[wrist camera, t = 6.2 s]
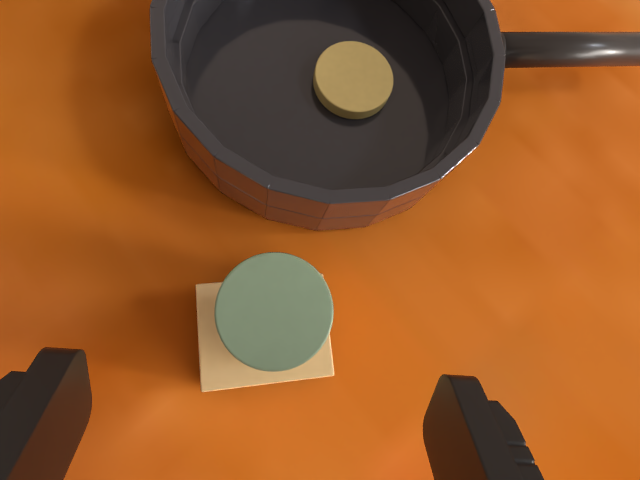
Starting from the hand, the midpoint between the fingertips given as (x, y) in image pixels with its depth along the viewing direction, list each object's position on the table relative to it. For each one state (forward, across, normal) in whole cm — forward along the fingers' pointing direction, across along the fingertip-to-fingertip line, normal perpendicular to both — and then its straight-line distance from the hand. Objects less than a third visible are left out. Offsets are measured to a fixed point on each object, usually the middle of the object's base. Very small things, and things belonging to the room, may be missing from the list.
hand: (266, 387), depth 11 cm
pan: (+17, -2, -3) cm, 17 cm away
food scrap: (+17, -3, -4) cm, 18 cm away
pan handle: (+17, -14, -6) cm, 23 cm away
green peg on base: (+8, 0, +6) cm, 10 cm away
